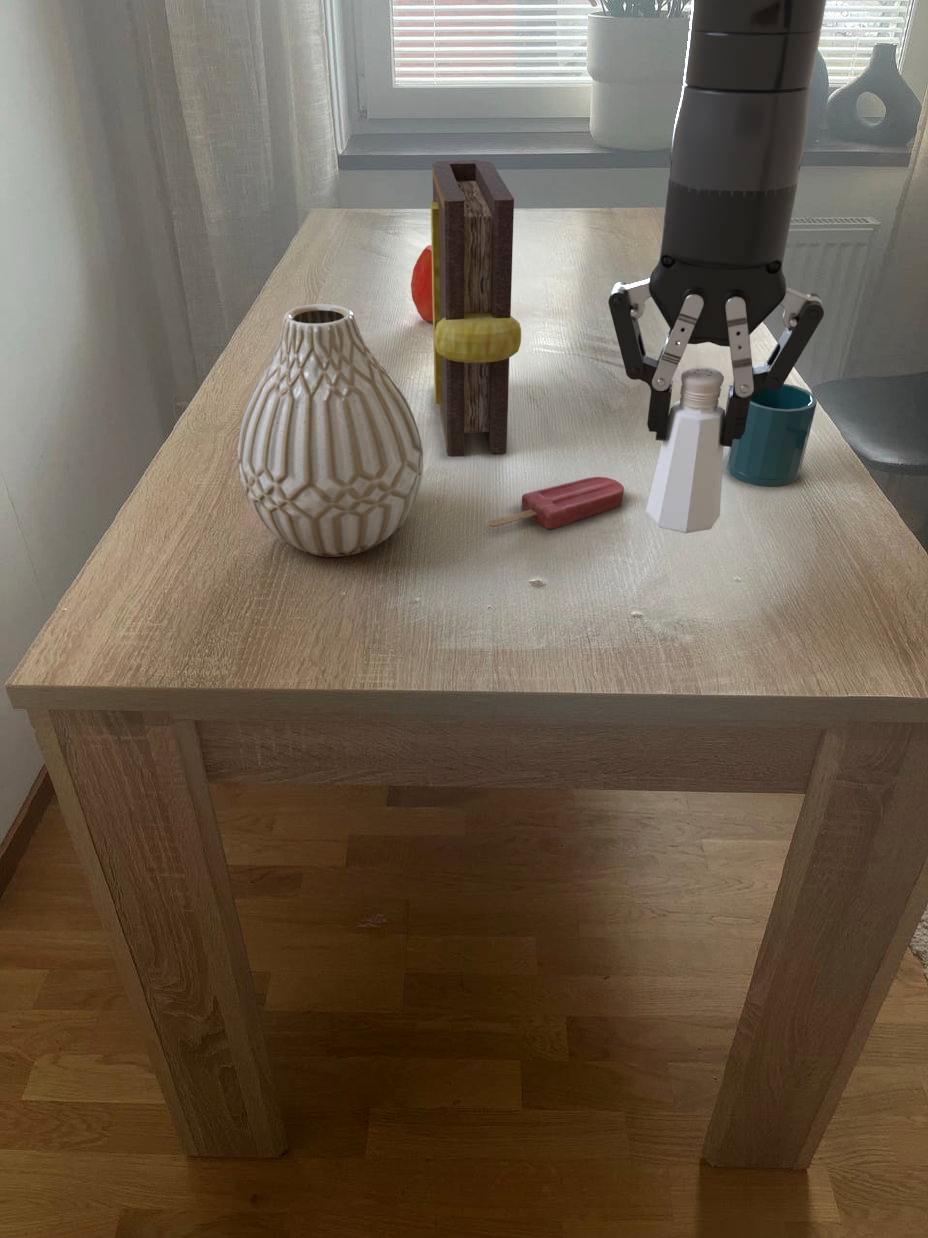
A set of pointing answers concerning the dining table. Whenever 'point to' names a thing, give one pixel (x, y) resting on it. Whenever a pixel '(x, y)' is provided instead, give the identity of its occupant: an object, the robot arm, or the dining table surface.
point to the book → (472, 301)
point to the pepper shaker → (691, 457)
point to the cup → (773, 437)
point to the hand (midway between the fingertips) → (694, 437)
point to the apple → (423, 285)
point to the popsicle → (567, 502)
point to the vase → (328, 439)
